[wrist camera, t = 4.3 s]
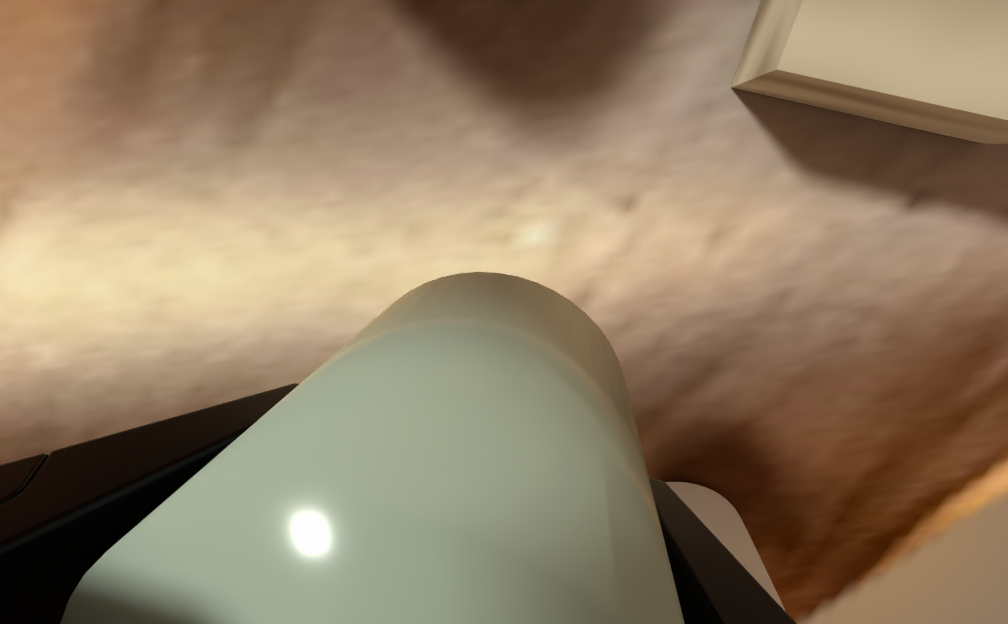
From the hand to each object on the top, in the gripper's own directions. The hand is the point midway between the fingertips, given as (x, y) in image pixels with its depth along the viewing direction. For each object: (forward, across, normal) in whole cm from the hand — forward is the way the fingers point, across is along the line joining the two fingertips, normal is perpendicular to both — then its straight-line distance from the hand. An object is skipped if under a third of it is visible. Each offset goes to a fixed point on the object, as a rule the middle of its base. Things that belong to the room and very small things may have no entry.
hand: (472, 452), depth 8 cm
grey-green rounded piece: (+2, 0, 0) cm, 2 cm away
